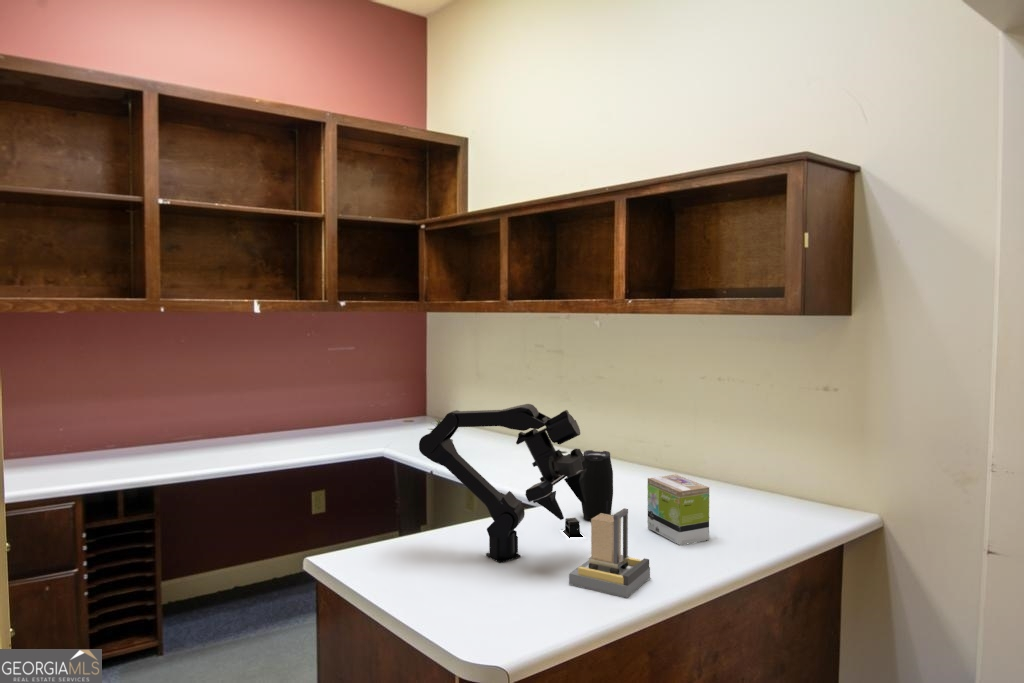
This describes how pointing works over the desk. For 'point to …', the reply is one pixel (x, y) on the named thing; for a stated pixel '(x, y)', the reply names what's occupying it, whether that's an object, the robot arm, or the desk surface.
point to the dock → (612, 578)
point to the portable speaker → (597, 484)
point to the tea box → (678, 509)
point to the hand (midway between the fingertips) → (573, 510)
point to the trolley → (609, 541)
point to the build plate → (572, 527)
